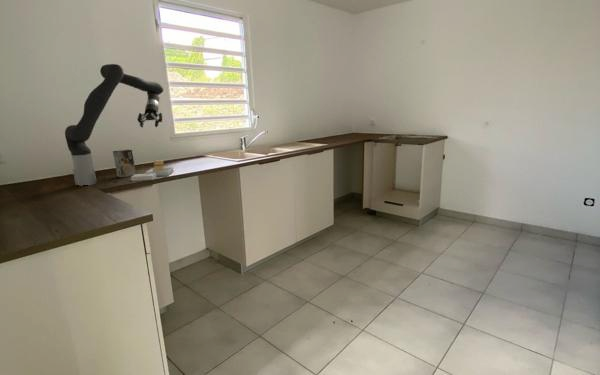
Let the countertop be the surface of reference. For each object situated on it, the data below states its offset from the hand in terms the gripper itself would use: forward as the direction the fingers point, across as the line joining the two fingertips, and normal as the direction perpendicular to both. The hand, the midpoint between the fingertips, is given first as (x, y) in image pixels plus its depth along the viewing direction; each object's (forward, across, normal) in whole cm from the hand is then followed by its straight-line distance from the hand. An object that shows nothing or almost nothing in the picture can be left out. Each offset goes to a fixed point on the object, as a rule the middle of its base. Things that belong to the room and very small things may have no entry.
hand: (148, 126), depth 203 cm
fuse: (+24, +4, +18) cm, 30 cm away
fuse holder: (+33, -1, +10) cm, 34 cm away
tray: (+24, +5, +18) cm, 31 cm away
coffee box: (+23, -16, +20) cm, 35 cm away
